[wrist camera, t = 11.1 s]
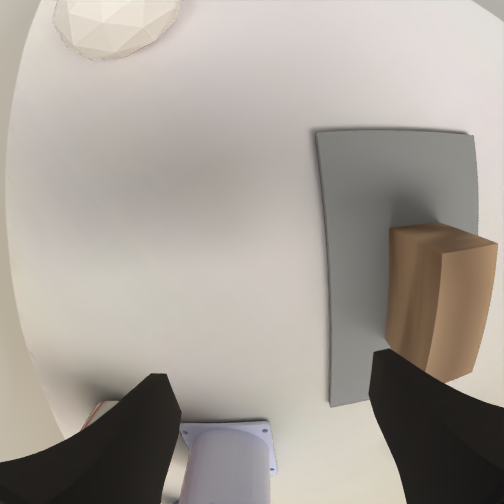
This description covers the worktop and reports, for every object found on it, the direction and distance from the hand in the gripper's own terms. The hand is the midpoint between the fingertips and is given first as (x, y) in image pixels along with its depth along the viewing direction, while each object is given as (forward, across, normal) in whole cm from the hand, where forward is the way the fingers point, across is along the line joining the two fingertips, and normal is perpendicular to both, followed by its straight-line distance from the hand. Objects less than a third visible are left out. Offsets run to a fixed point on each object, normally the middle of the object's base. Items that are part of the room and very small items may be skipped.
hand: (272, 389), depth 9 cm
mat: (+9, -10, +1) cm, 14 cm away
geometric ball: (+10, +6, -19) cm, 22 cm away
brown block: (+9, -10, +1) cm, 13 cm away
